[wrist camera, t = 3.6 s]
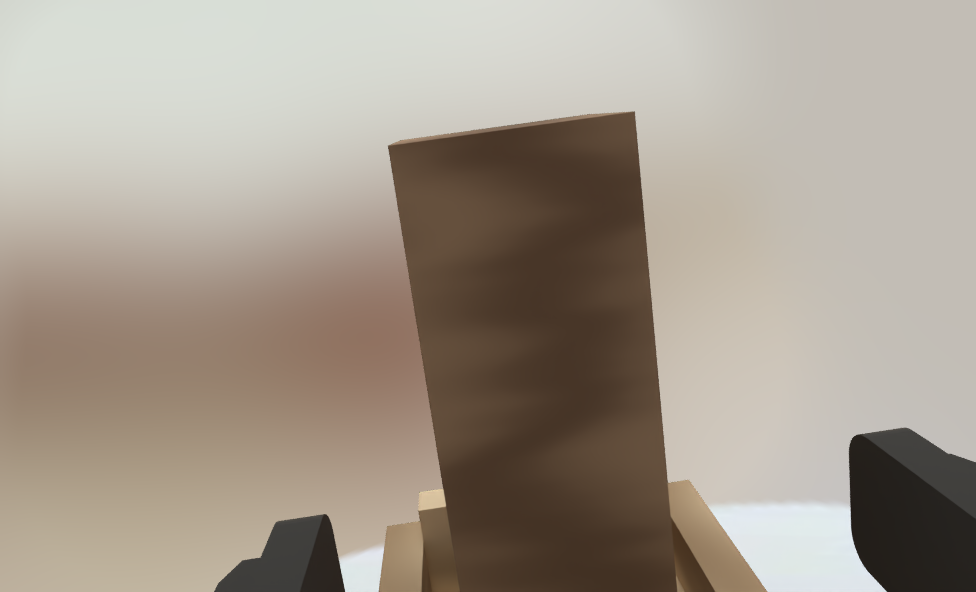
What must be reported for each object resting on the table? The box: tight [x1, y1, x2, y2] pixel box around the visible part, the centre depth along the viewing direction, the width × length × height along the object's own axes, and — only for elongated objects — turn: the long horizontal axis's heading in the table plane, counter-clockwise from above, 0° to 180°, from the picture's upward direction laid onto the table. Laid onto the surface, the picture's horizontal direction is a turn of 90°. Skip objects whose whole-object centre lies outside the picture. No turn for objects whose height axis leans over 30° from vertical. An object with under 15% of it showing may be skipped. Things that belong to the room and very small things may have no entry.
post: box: [388, 112, 677, 592], centre depth 19 cm, size 5×5×14 cm
